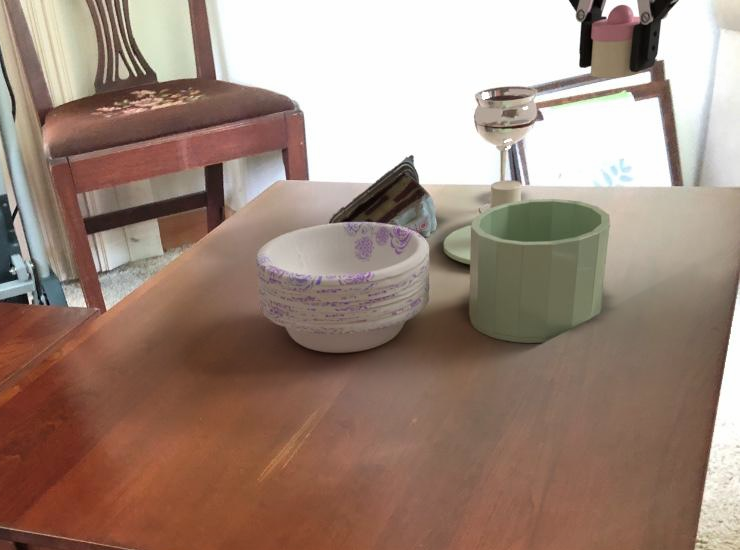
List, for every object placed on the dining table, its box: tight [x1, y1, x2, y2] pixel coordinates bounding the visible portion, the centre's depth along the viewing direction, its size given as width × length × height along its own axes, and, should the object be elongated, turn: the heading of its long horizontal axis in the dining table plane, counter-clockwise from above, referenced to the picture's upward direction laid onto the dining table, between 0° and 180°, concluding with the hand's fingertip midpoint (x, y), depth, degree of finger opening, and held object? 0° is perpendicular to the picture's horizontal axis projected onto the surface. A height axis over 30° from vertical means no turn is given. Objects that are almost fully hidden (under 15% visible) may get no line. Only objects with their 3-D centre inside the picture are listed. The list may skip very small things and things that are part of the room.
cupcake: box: [590, 4, 642, 79], centre depth 93 cm, size 5×5×6 cm
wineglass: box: [473, 85, 539, 213], centre depth 106 cm, size 7×7×12 cm
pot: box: [468, 198, 611, 344], centre depth 84 cm, size 11×11×8 cm
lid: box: [443, 179, 522, 265], centre depth 98 cm, size 12×12×7 cm
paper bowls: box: [255, 222, 430, 354], centre depth 86 cm, size 15×15×8 cm
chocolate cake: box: [327, 154, 438, 238], centre depth 106 cm, size 10×7×12 cm
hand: (616, 64), depth 95 cm, fingers closed on cupcake, 5 cm apart
